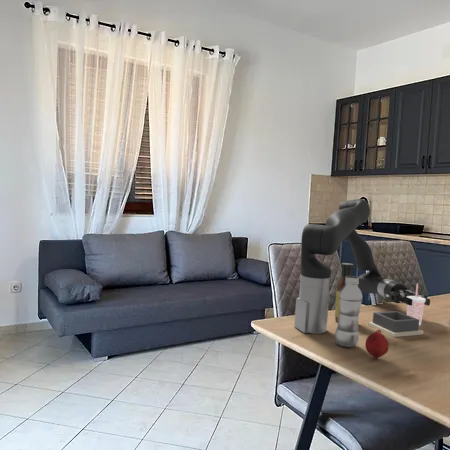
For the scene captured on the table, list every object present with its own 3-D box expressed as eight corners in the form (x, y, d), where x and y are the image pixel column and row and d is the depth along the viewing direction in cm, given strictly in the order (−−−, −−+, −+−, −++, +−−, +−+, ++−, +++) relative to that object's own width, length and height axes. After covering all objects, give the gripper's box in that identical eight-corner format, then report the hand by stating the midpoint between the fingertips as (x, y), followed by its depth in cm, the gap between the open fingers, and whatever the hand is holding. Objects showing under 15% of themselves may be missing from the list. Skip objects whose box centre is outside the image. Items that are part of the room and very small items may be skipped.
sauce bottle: (355, 325, 145) (360, 266, 144) (336, 323, 145) (341, 265, 144) (350, 319, 152) (355, 262, 150) (332, 317, 152) (336, 261, 150)
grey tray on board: (393, 337, 135) (394, 322, 135) (367, 324, 146) (368, 311, 146) (423, 334, 139) (424, 320, 139) (395, 322, 151) (397, 309, 150)
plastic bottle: (329, 342, 126) (335, 275, 125) (348, 340, 129) (353, 274, 127) (343, 351, 121) (349, 279, 119) (363, 348, 123) (369, 279, 122)
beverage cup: (403, 324, 149) (407, 284, 148) (404, 319, 155) (408, 280, 154) (423, 327, 147) (427, 286, 146) (423, 322, 152) (427, 283, 151)
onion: (375, 364, 112) (378, 334, 112) (359, 356, 118) (362, 327, 117) (391, 361, 115) (394, 331, 114) (375, 353, 120) (377, 325, 120)
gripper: (375, 280, 162) (402, 291, 146) (410, 281, 165) (440, 292, 149) (373, 300, 163) (400, 313, 147) (408, 300, 166) (437, 313, 150)
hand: (420, 302), depth 148 cm, fingers closed on beverage cup, 6 cm apart
